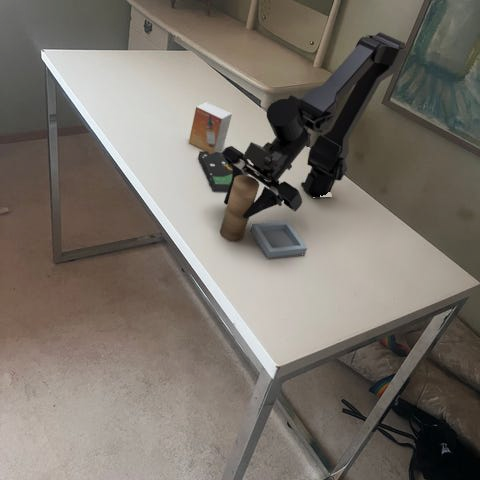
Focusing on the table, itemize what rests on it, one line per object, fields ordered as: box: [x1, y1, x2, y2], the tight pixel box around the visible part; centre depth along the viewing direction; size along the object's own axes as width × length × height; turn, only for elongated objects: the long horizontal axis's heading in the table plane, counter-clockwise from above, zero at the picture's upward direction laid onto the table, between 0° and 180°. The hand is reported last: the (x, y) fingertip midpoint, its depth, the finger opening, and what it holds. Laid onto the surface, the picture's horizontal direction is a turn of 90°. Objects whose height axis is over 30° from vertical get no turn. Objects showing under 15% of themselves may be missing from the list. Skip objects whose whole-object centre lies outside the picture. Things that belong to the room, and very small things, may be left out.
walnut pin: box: [219, 175, 260, 242], centre depth 92 cm, size 5×5×13 cm
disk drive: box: [197, 150, 250, 193], centre depth 113 cm, size 10×3×15 cm
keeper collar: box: [249, 220, 308, 260], centre depth 97 cm, size 9×9×2 cm
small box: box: [188, 101, 233, 154], centre depth 120 cm, size 8×6×10 cm
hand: (234, 210), depth 91 cm, fingers closed on walnut pin, 5 cm apart
